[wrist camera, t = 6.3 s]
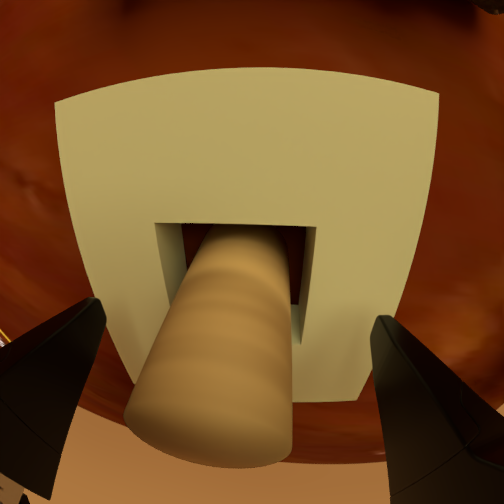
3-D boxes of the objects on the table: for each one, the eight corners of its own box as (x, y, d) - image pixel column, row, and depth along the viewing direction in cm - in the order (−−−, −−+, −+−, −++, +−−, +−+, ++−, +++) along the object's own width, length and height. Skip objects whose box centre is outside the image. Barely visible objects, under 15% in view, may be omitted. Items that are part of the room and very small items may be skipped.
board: (405, 93, 8) (439, 93, 6) (350, 364, 15) (356, 400, 13) (93, 98, 9) (54, 102, 7) (147, 351, 16) (133, 383, 14)
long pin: (285, 292, 13) (283, 472, 6) (205, 288, 13) (150, 454, 6) (290, 216, 11) (303, 413, 4) (198, 213, 11) (97, 384, 4)
